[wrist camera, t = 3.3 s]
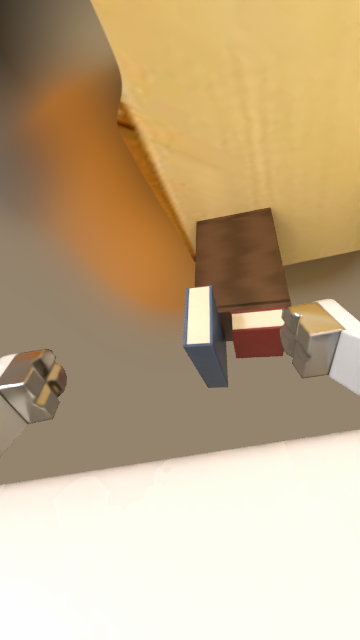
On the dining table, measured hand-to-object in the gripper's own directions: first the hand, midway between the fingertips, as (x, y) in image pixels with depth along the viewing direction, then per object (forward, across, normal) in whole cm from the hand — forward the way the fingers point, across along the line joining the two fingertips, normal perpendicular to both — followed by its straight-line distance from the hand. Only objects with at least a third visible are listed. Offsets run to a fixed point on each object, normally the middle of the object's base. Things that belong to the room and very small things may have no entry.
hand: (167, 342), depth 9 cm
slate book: (+30, -5, +22) cm, 37 cm away
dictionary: (+30, -13, +25) cm, 41 cm away
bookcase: (+54, -16, +15) cm, 58 cm away
